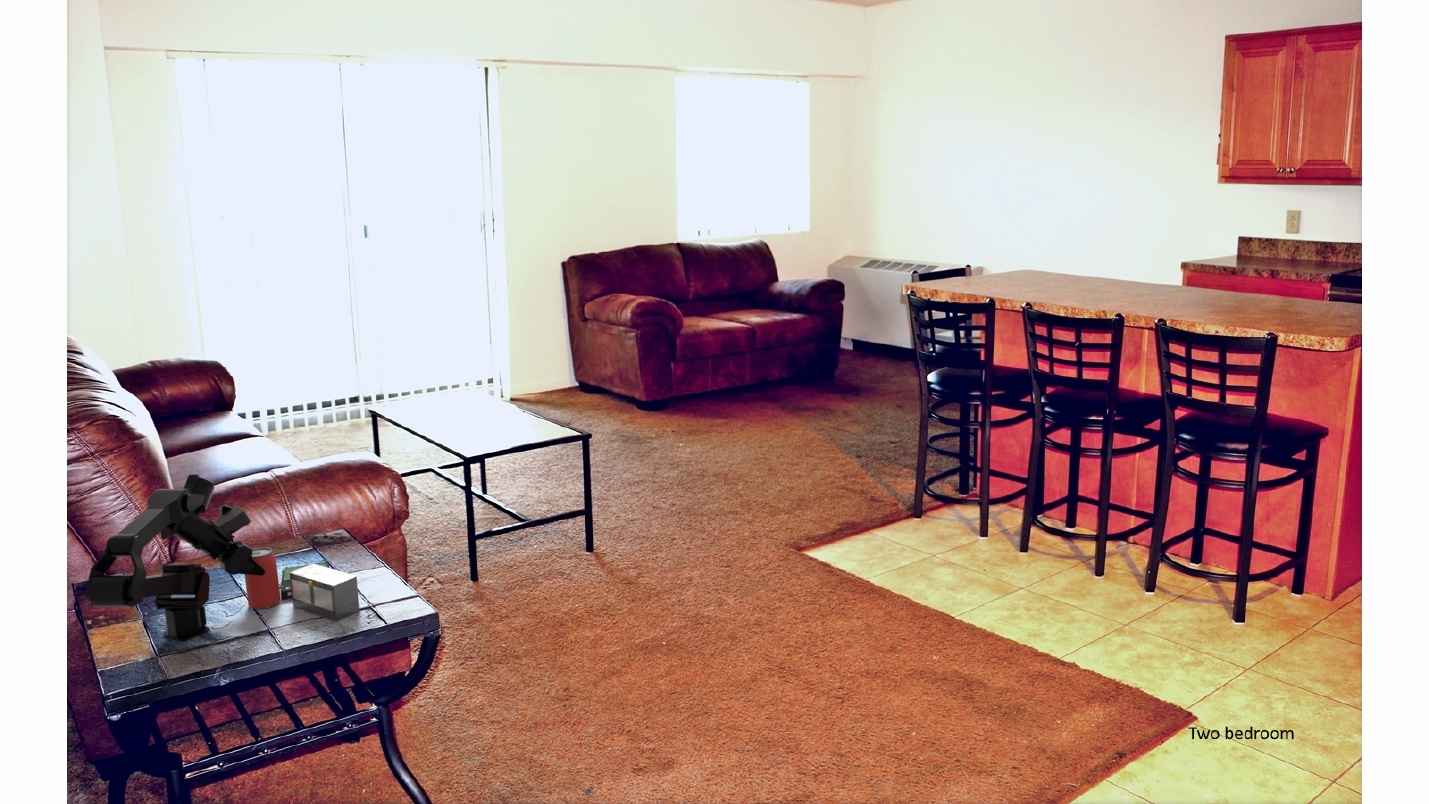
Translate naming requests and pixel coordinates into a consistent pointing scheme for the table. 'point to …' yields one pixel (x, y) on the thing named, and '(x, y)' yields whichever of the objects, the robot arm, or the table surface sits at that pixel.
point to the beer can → (263, 581)
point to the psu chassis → (324, 592)
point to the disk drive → (286, 582)
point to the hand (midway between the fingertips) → (256, 567)
